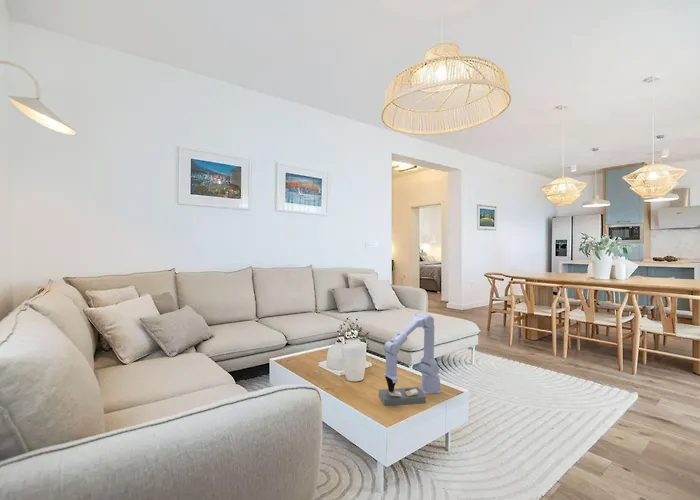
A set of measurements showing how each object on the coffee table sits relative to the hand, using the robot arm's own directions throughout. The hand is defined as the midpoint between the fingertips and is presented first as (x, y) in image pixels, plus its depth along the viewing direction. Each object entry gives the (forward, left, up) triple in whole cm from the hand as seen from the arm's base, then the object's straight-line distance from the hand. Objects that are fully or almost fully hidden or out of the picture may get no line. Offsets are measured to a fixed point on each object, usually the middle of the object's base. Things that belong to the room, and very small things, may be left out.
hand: (391, 391), depth 176 cm
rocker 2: (-11, 0, -2) cm, 11 cm away
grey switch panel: (-7, -3, -6) cm, 9 cm away
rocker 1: (-2, 0, -2) cm, 3 cm away
